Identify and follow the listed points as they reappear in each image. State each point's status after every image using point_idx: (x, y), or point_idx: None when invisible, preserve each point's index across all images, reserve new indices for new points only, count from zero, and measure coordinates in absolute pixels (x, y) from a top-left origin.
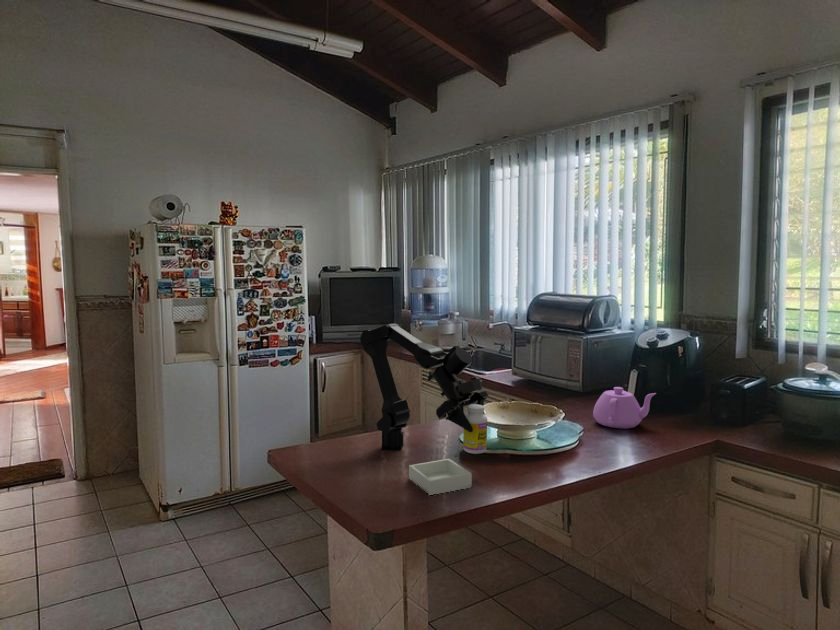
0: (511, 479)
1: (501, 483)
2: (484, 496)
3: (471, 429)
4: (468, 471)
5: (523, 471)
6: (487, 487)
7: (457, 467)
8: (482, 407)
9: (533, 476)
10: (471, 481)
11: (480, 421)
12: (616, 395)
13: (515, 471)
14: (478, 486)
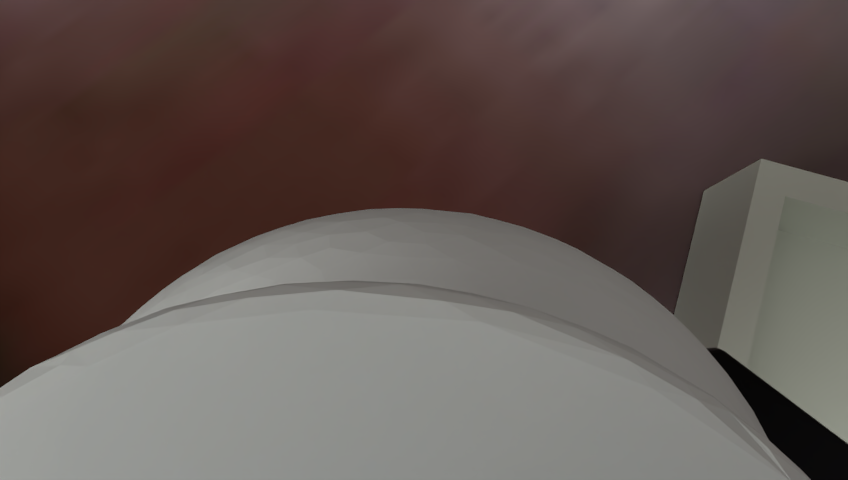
0: (301, 94)
1: (433, 93)
2: (738, 13)
3: (738, 367)
4: (749, 218)
5: (75, 140)
6: (587, 113)
7: None
8: (169, 396)
9: (111, 16)
10: (727, 178)
11: (551, 238)
12: None
13: (125, 186)
14: (631, 176)
